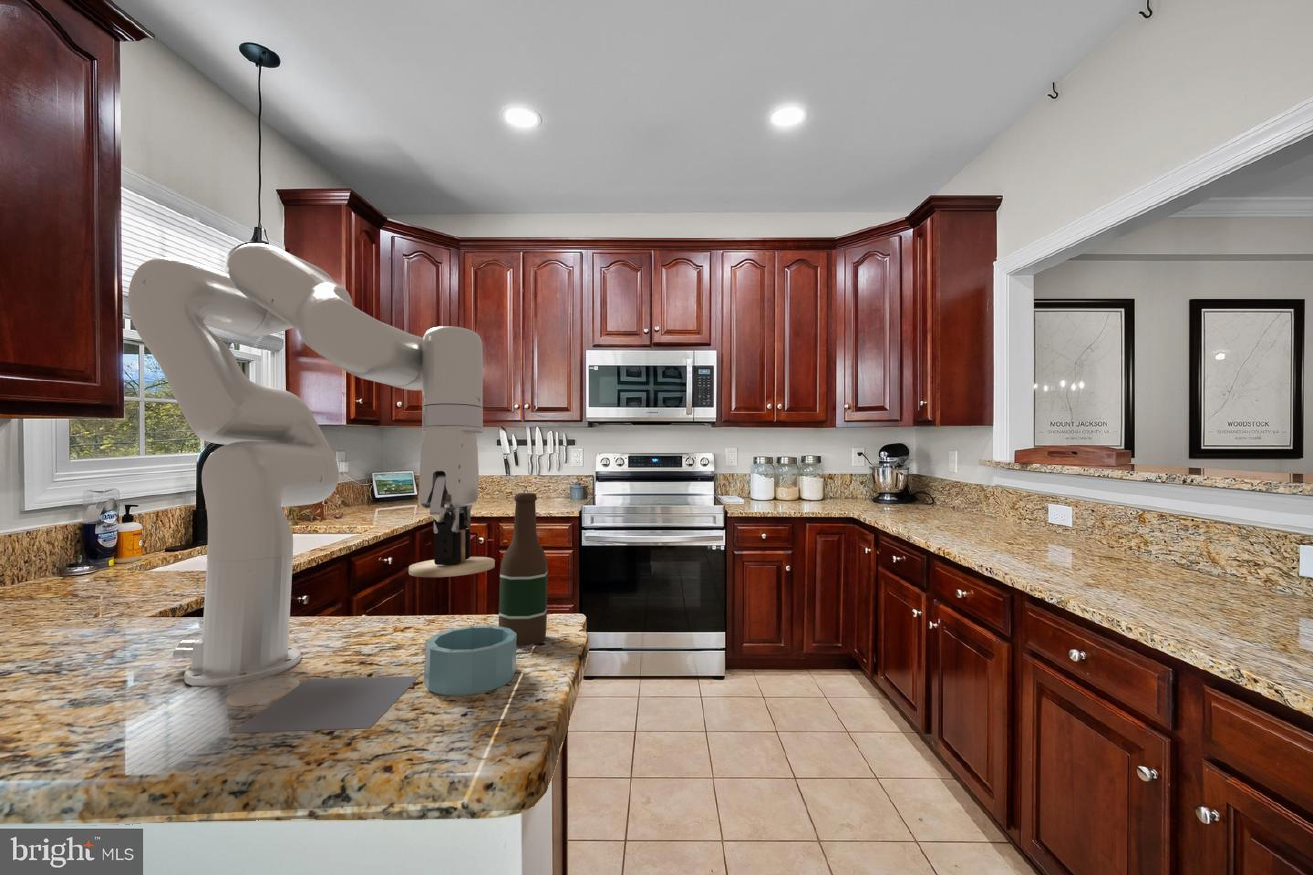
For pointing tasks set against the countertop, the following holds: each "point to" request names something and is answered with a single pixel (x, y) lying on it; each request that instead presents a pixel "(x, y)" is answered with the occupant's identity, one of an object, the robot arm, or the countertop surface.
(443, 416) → the robot arm
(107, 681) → the countertop surface
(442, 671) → the bowl
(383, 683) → the mat
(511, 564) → the beer bottle
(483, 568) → the lid
